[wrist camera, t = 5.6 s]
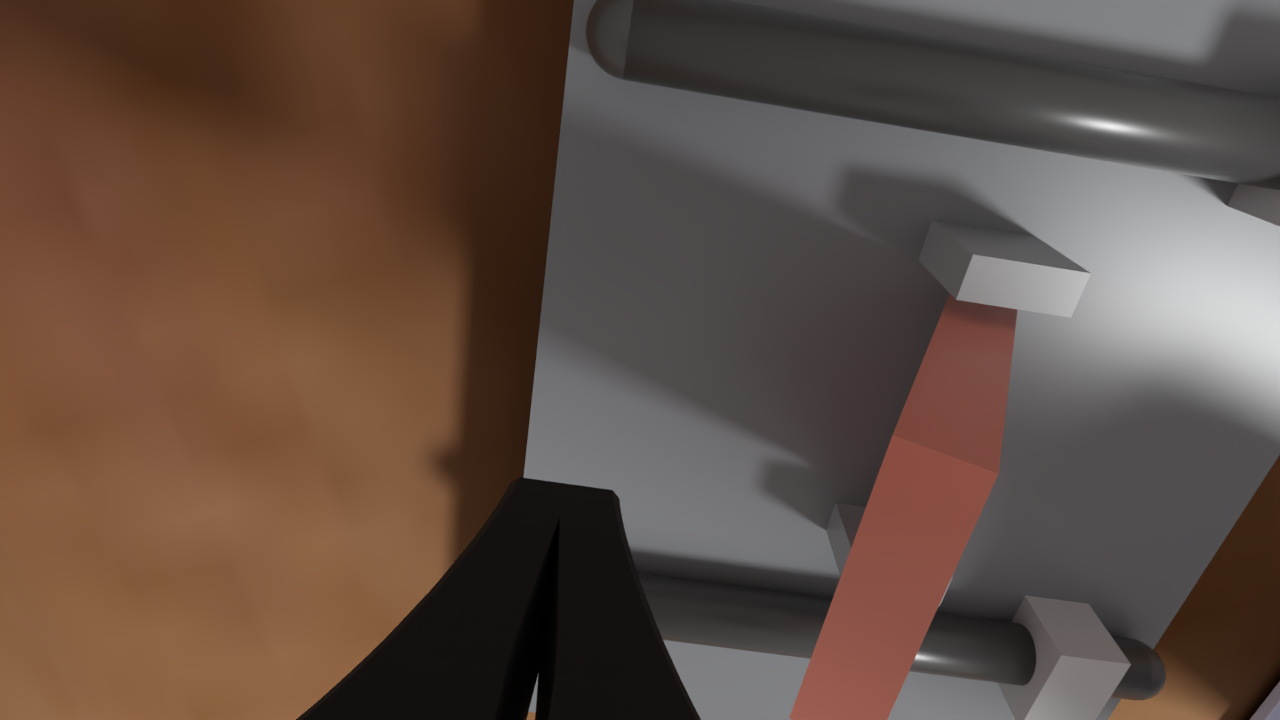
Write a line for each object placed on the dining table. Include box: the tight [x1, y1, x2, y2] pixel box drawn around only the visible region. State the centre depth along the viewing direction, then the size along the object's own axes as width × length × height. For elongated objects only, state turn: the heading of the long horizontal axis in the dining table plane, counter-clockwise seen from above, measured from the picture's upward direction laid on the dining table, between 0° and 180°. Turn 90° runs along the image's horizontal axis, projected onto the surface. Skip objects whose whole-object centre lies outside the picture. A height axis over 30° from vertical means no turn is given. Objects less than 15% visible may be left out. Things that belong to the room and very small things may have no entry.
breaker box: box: [524, 0, 1280, 720], centre depth 16 cm, size 16×22×4 cm
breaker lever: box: [789, 294, 1017, 720], centre depth 12 cm, size 1×5×6 cm, turn 172°
